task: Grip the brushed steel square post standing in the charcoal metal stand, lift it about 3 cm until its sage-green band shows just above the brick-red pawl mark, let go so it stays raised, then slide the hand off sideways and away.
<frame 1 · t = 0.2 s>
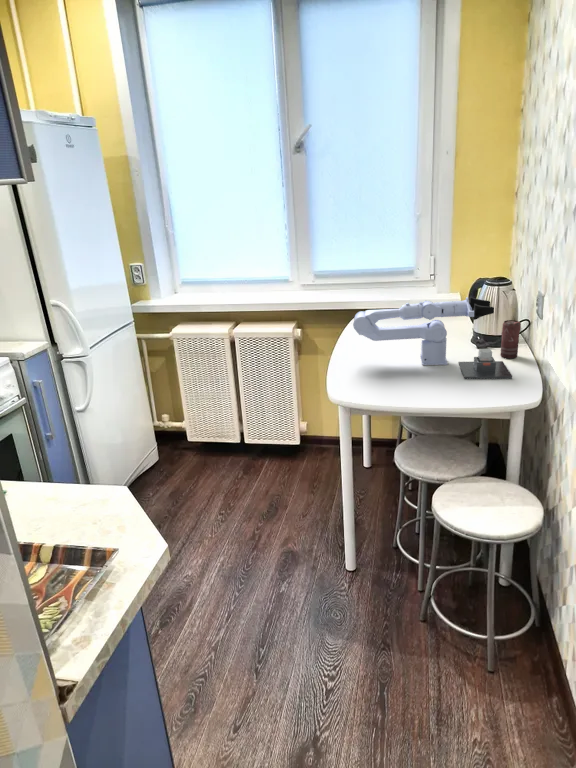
hand: (491, 307, 206), 21 cm above the table, tool horizontal, fingers open, 7 cm apart
can: (509, 357, 217), on the table
column: (484, 360, 203), point 4 cm above the table, slide at 0.0 cm
stand: (484, 371, 205), on the table
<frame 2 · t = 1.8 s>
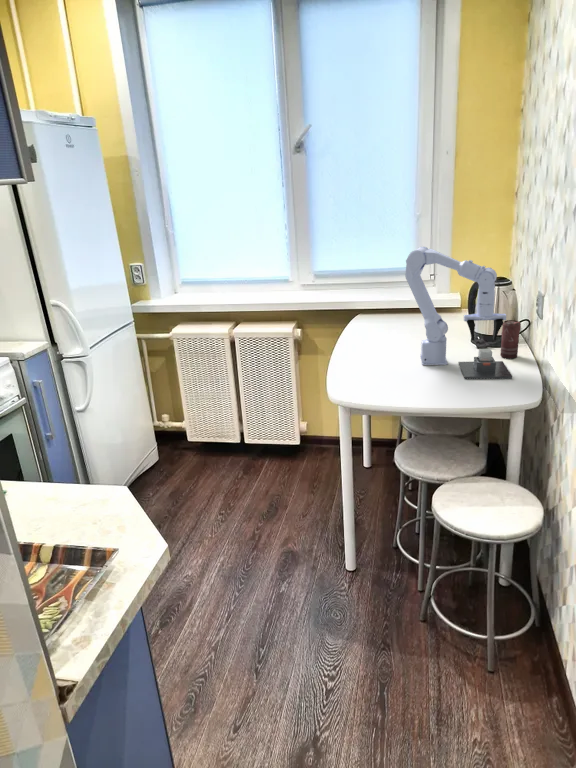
hand: (483, 339, 206), 10 cm above the table, tool pointing down, fingers open, 7 cm apart
nothing on the table moved.
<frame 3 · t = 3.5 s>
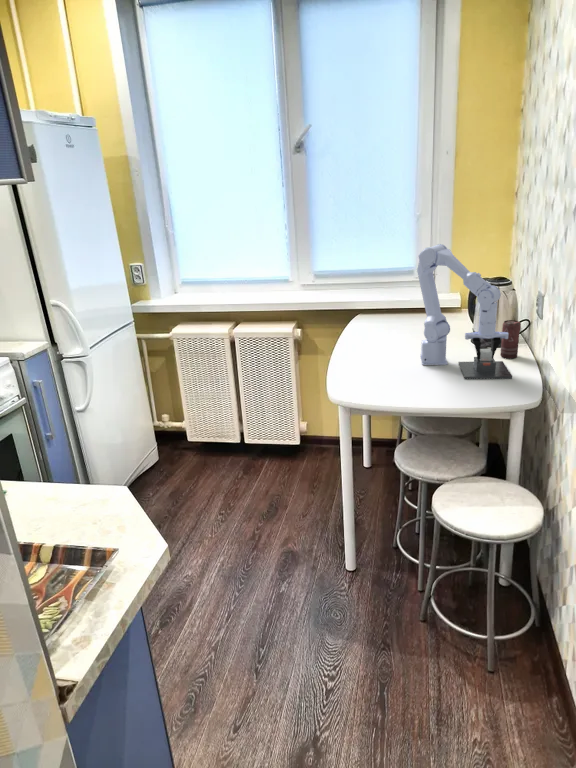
hand: (484, 357, 203), 5 cm above the table, tool pointing down, fingers closed on column, 4 cm apart
column: (484, 360, 203), point 4 cm above the table, slide at 0.0 cm, touching gripper
everything else where it was.
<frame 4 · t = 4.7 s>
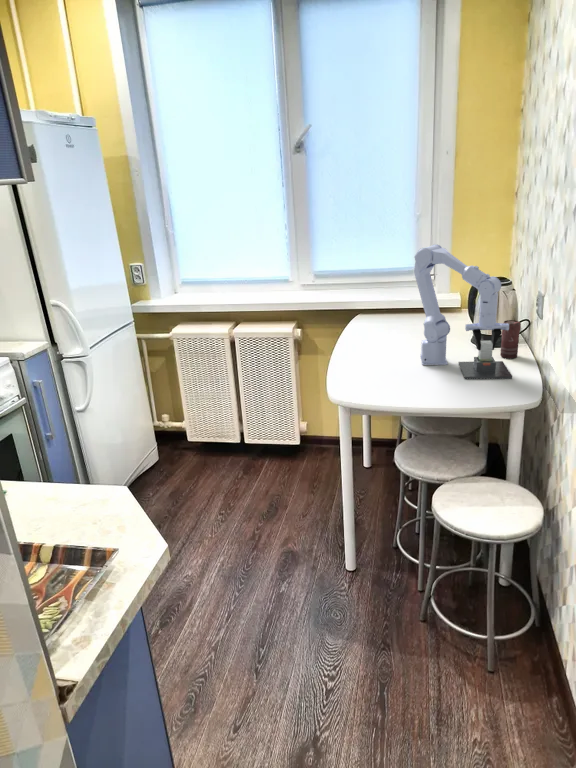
hand: (485, 349, 202), 8 cm above the table, tool pointing down, fingers closed on column, 4 cm apart
column: (485, 352, 202), point 7 cm above the table, slide at 3.1 cm, touching gripper
everything else where it was.
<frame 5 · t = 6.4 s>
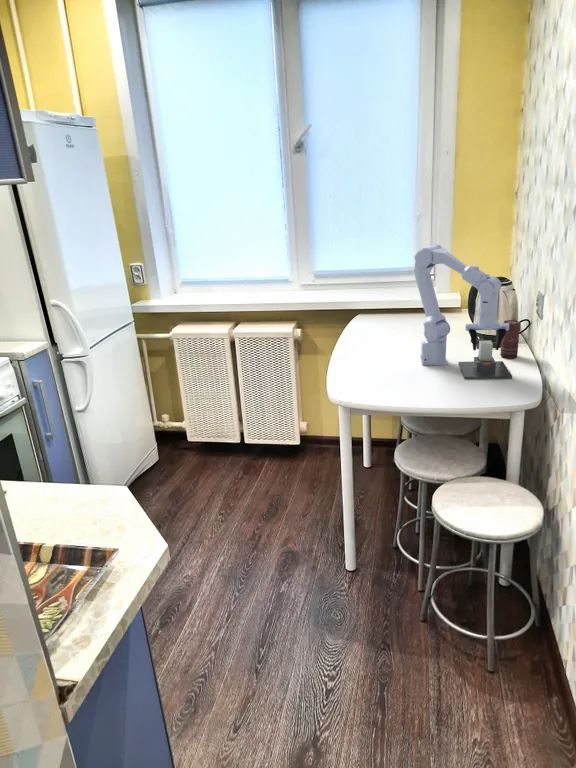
hand: (485, 349, 202), 8 cm above the table, tool pointing down, fingers open, 7 cm apart
column: (485, 352, 202), point 7 cm above the table, slide at 3.1 cm
everything else where it was.
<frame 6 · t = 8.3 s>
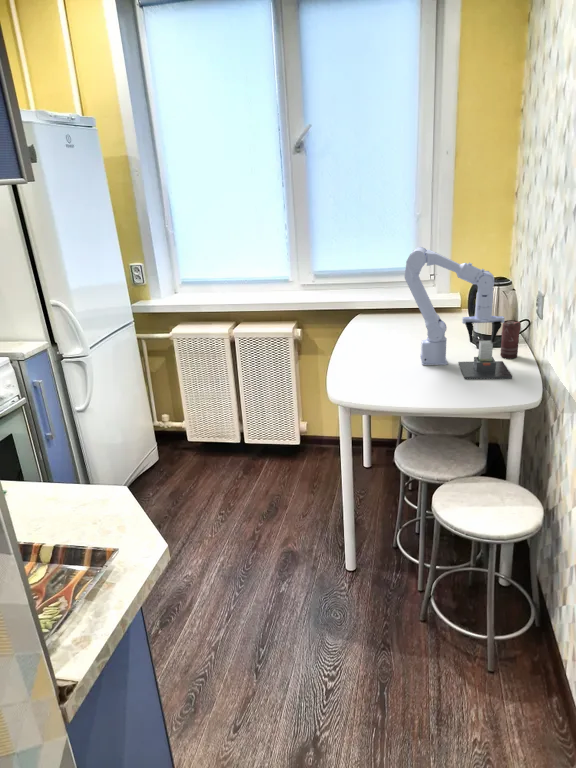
hand: (481, 341, 209), 9 cm above the table, tool pointing down, fingers open, 7 cm apart
nothing on the table moved.
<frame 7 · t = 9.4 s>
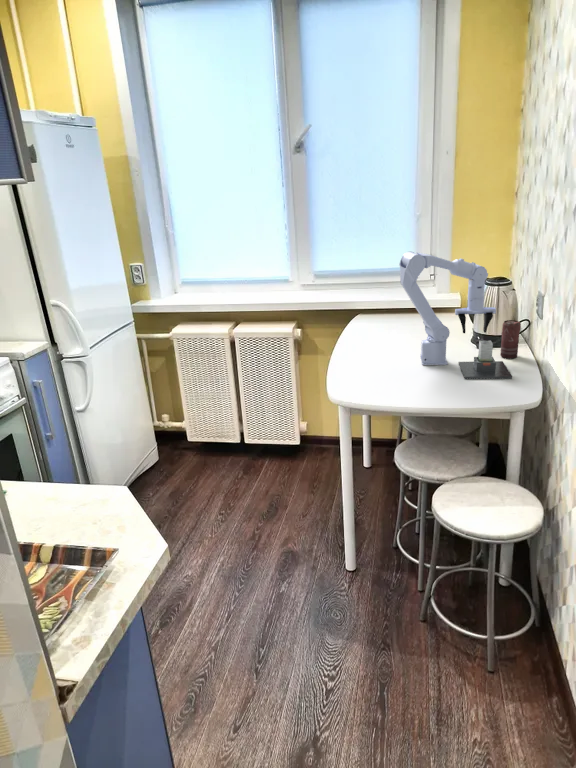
hand: (474, 332, 215), 10 cm above the table, tool pointing down, fingers open, 7 cm apart
nothing on the table moved.
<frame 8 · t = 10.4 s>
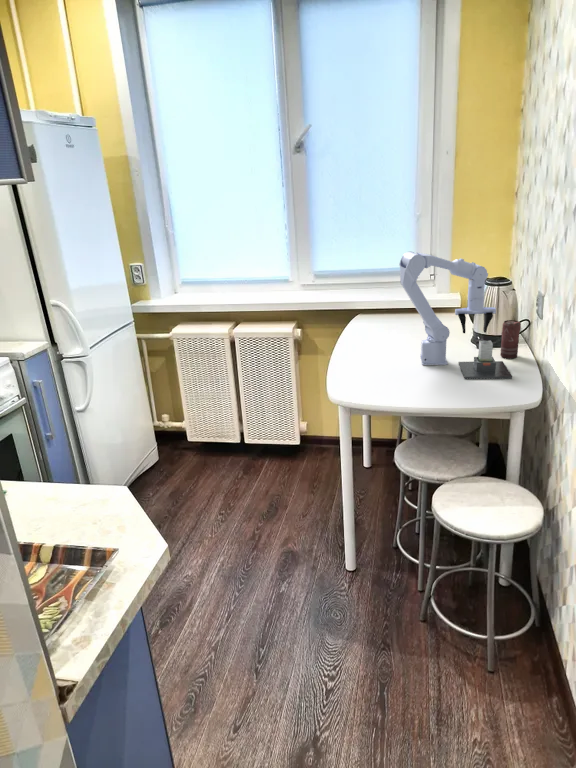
hand: (474, 332, 215), 10 cm above the table, tool pointing down, fingers open, 7 cm apart
nothing on the table moved.
at the end: column slide at 3.1 cm; the gripper is holding nothing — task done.
